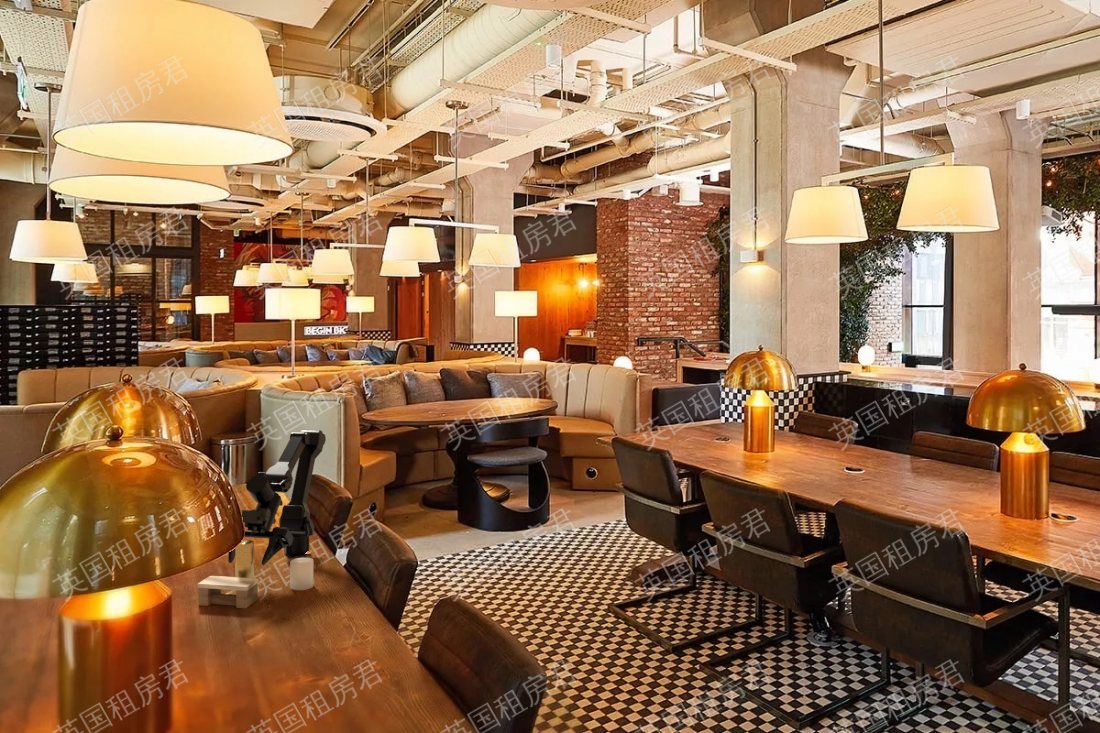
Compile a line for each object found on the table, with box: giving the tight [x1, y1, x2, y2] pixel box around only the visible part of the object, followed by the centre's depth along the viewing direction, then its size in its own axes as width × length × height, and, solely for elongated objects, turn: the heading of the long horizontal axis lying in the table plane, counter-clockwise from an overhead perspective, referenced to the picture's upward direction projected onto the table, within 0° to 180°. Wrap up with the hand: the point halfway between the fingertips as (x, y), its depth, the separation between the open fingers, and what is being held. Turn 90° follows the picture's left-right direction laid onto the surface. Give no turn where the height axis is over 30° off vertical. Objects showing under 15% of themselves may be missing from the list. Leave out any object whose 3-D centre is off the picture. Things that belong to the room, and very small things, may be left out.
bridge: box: [197, 575, 260, 609], centre depth 191 cm, size 6×13×6 cm, turn 84°
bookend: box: [225, 539, 255, 595], centre depth 196 cm, size 12×6×13 cm, turn 174°
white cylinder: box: [289, 557, 314, 591], centre depth 204 cm, size 6×6×7 cm
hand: (246, 563), depth 200 cm, fingers open, 9 cm apart
